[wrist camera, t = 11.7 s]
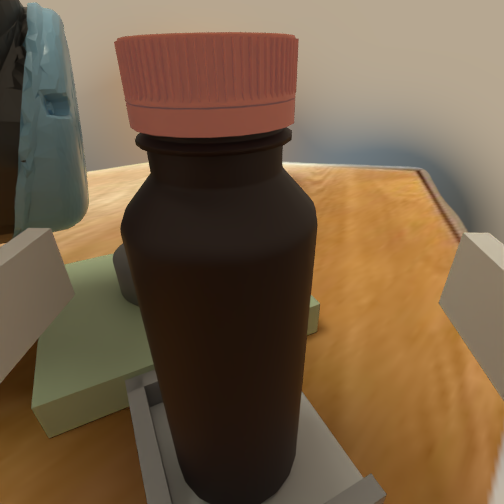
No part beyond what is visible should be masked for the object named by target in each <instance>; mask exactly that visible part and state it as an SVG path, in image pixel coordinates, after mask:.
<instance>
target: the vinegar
mask: <svg viewBox="0 0 504 504" xmlns="http://www.w3.org/2000/svg"><path fill="white" fill-rule="evenodd" d="M114 43H115V49H116V54H117V59H118V64H119V69H120V75H121V80H122V85H123V90H124V95H125V101H126V102H127V103H126V106H127V111H128V117H129V122H130V126H131V128H132V129H134V130H135V131H137V132H140V133H139V134H138V135H137V136H136V139H135V142H136V145H137V146H138V147H140V148H141V149H142V150H145V151H147V155H148V160H149V166H150V172H151V174H150V175H149V176H148V178H147V179H146V180H145V182H144V183H143V185H142V186H141V187H140V189H139V190H138V192H137V193H136V194H135V196H134V197H133V198H132V200H131V201H130V203H129V204H128V206H127V207H126V209H125V212H124V216H123V219H122V223H121V228H120V229H121V236H122V240H123V244H124V248H125V252H126V256H127V260H128V264H129V268H130V272H131V276H132V280H133V284H134V288H135V292H136V296H137V300H138V304H139V308H140V312H141V316H142V320H143V324H144V328H145V332H146V336H147V340H148V344H149V348H150V352H151V356H152V360H153V364H154V368H155V372H156V376H157V380H158V384H159V387H160V391H161V395H162V399H163V403H164V407H165V411H166V415H167V419H168V423H169V427H170V431H171V435H172V439H173V443H174V447H175V451H176V455H177V459H178V463H179V466H180V469H181V472H182V474H183V477H184V480H185V482H186V483H187V485H188V486H189V487H190V488H191V489H192V490H193V492H194V493H195V494H196V495H197V496H198V498H200V499H202V500H203V501H205V502H207V503H209V504H261V503H263V502H264V501H266V500H267V499H268V498H270V497H271V496H273V495H274V494H276V493H277V491H278V490H279V489H280V487H281V486H282V485H283V483H284V482H285V480H286V479H287V478H288V476H289V475H290V472H291V469H292V465H293V462H294V459H295V456H296V446H297V435H298V425H299V414H300V404H301V393H302V382H303V372H304V361H305V351H306V340H307V330H308V319H309V309H310V298H311V288H312V277H313V267H314V256H315V246H316V235H317V217H316V210H315V206H314V203H313V201H312V200H311V198H310V197H309V196H308V195H307V194H306V193H305V192H304V191H303V190H302V188H301V187H300V186H299V185H298V184H297V183H296V182H295V181H294V179H293V178H292V177H291V176H290V175H289V174H288V173H287V172H286V171H285V169H284V168H283V166H282V149H283V145H285V144H286V143H288V142H289V141H290V140H291V138H292V130H290V129H288V128H287V126H289V125H291V124H293V123H294V112H295V93H296V82H297V61H298V59H297V58H298V39H296V38H295V36H294V35H289V34H278V33H242V32H228V33H227V32H225V33H224V32H223V33H222V32H221V33H171V34H150V35H136V36H125V37H121V38H118V39H117V41H115V42H114Z"/></svg>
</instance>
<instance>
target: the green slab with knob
mask: <svg viewBox="0 0 504 504" xmlns="http://www.w3.org/2000/svg"><path fill="white" fill-rule="evenodd" d="M65 268H66V271H67V274H68V276H69V279H70V282H71V284H72V287H73V290H74V293H75V295H74V296H73V298H72V299H71V300H70V301H69V302H68V304H67V305H66V306H65V307H64V308H63V310H62V311H61V312H60V313H59V314H58V315H57V317H56V318H55V319H54V320H53V321H52V323H51V324H50V325H49V326H48V327H47V329H46V330H45V331H44V332H43V333H42V335H41V336H40V337H39V338H38V346H37V356H36V366H35V376H34V386H33V396H32V406H31V409H32V411H33V412H34V414H35V416H36V417H37V419H38V421H39V422H40V424H41V426H42V428H43V429H44V431H45V433H46V434H47V436H48V438H51V437H54V436H56V435H59V434H61V433H64V432H66V431H69V430H71V429H74V428H76V427H79V426H81V425H84V424H86V423H89V422H91V421H94V420H96V419H99V418H101V417H104V416H106V415H109V414H111V413H114V412H116V411H119V410H121V409H124V408H126V407H129V406H130V412H131V417H132V423H133V428H134V433H135V439H136V444H137V450H138V455H139V461H140V466H141V472H142V477H143V483H144V488H145V494H146V499H147V504H209V503H207V502H205V501H203V500H202V499H200V498H198V496H197V495H196V494H195V493H194V492H193V490H192V489H191V488H190V487H189V486H188V485H187V483H186V482H185V480H184V477H183V474H182V472H181V469H180V466H179V463H178V459H177V455H176V451H175V447H174V443H173V439H172V435H171V431H170V427H169V423H168V419H167V415H166V411H165V407H164V403H163V399H162V395H161V391H160V387H159V384H158V380H157V376H156V372H155V368H154V364H153V360H152V356H151V352H150V348H149V344H148V340H147V336H146V332H145V328H144V324H143V320H142V316H141V312H140V308H139V304H138V300H137V296H136V292H135V288H134V284H133V280H132V276H131V272H130V268H129V264H128V260H127V256H126V252H125V248H124V244H122V245H120V246H119V247H118V248H117V250H116V251H115V252H114V254H109V255H105V256H100V257H96V258H92V259H87V260H83V261H78V262H74V263H70V264H65ZM319 310H320V303H319V302H318V301H317V300H316V299H315V298H314V297H313V296H312V295H311V298H310V309H309V319H308V330H307V335H310V334H312V333H315V332H317V327H318V319H319ZM386 495H387V494H386V493H385V492H384V490H383V489H382V488H381V486H380V485H379V483H378V482H377V481H376V479H375V478H374V477H373V475H372V474H369V475H368V476H366V477H365V478H363V476H362V475H361V474H360V472H359V471H358V469H357V468H356V467H355V465H354V464H353V462H352V461H351V460H350V458H349V457H348V455H347V454H346V453H345V451H344V450H343V448H342V447H341V446H340V444H339V443H338V441H337V440H336V439H335V437H334V436H333V434H332V433H331V432H330V430H329V429H328V427H327V426H326V424H325V423H324V422H323V420H322V419H321V417H320V416H319V415H318V413H317V412H316V410H315V409H314V408H313V406H312V405H311V403H310V402H309V401H308V399H307V398H306V396H305V395H304V394H303V392H302V393H301V404H300V414H299V425H298V435H297V446H296V456H295V459H294V462H293V465H292V469H291V472H290V475H289V476H288V478H287V479H286V480H285V482H284V483H283V485H282V486H281V487H280V489H279V490H278V491H277V493H276V494H274V495H273V496H271V497H270V498H268V499H267V500H266V501H264V502H263V503H261V504H383V502H384V500H385V497H386Z"/></svg>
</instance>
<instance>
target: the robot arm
mask: <svg viewBox="0 0 504 504" xmlns="http://www.w3.org/2000/svg"><path fill="white" fill-rule="evenodd" d="M27 6H28V7H23V6H22V4H21V3H20V1H19V0H0V244H2V243H6V244H4V245H3V246H2V247H0V383H1V382H2V381H3V380H4V378H5V377H6V376H7V375H8V374H9V373H10V371H11V370H12V369H13V368H14V367H15V365H16V364H17V363H18V362H19V361H20V359H21V358H22V357H23V356H24V355H25V354H26V352H27V351H28V350H29V349H30V348H31V346H32V345H33V344H34V343H35V342H36V340H37V339H38V338H39V337H40V336H41V335H42V333H43V332H44V331H45V330H46V329H47V327H48V326H49V325H50V324H51V323H52V321H53V320H54V319H55V318H56V317H57V315H58V314H59V313H60V312H61V311H62V310H63V308H64V307H65V306H66V305H67V304H68V302H69V301H70V300H71V299H72V298H73V296H74V295H75V293H74V290H73V287H72V284H71V282H70V279H69V276H68V274H67V271H66V268H65V265H64V263H63V260H62V257H61V255H60V252H59V249H58V247H57V244H56V241H55V238H54V236H53V233H52V232H56V231H61V230H65V229H69V228H71V227H73V226H75V224H77V223H78V222H80V221H81V220H82V219H83V217H84V215H85V214H86V212H87V209H88V205H89V194H88V182H87V172H86V163H85V155H84V147H83V140H82V132H81V125H80V118H79V111H78V104H77V98H76V91H75V84H74V79H73V72H72V66H71V60H70V55H69V49H68V45H67V41H66V37H65V34H64V25H63V22H62V20H61V18H60V16H59V15H58V14H57V13H56V12H55V11H53V10H51V9H48V8H42V7H41V6H40V5H39V4H38V3H28V4H27ZM439 304H440V306H441V307H442V309H443V310H444V312H445V313H446V315H447V316H448V318H449V319H450V321H451V322H452V324H453V325H454V327H455V328H456V330H457V331H458V333H459V334H460V336H461V337H462V339H463V340H464V342H465V343H466V345H467V346H468V348H469V349H470V351H471V352H472V354H473V356H474V357H475V359H476V360H477V362H478V363H479V365H480V366H481V368H482V369H483V371H484V372H485V374H486V375H487V377H488V378H489V380H490V381H491V383H492V384H493V386H494V387H495V389H496V390H497V392H498V393H499V395H500V396H501V398H502V399H503V401H504V245H503V244H502V243H501V242H500V241H498V240H497V239H496V238H495V237H493V236H492V235H491V234H490V233H463V235H462V238H461V241H460V243H459V246H458V249H457V252H456V255H455V258H454V261H453V263H452V266H451V269H450V272H449V275H448V278H447V281H446V283H445V286H444V289H443V292H442V295H441V298H440V301H439Z"/></svg>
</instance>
